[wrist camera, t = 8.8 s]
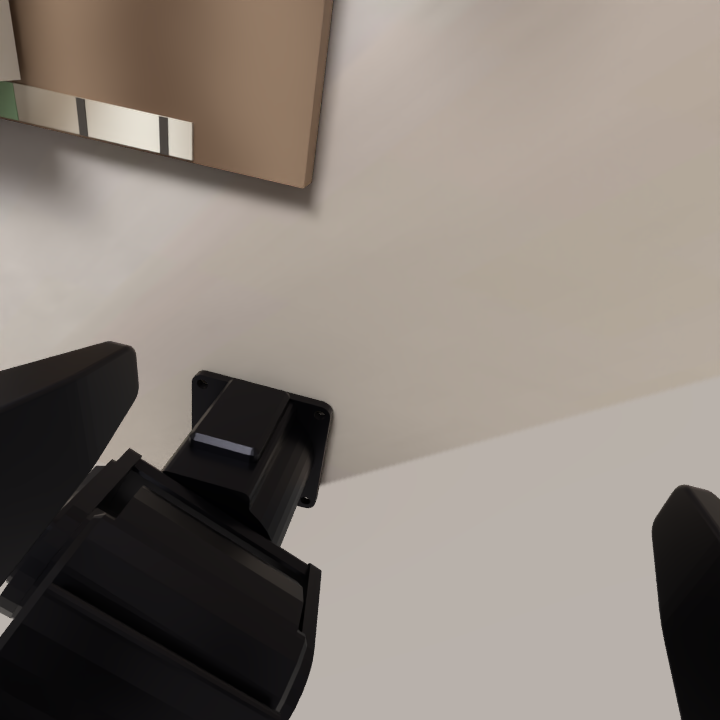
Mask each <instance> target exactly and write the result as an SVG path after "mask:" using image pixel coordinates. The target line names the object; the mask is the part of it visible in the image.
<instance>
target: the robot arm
mask: <svg viewBox="0 0 720 720" xmlns="http://www.w3.org/2000/svg"><path fill="white" fill-rule="evenodd" d="M202 380H204V381H206V383H207V384H205V383H203V382H202ZM138 389H139V382H138V370H137V358H136V352H135V350H134V349H133V348H132V347H131V346H129V345H125V344H121V343H117V342H112V341H107V342H103V343H100V344H96V345H92V346H89V347H85V348H82V349H78V350H74V351H71V352H67V353H64V354H60V355H56V356H53V357H49V358H46V359H42V360H38V361H35V362H31V363H28V364H24V365H20V366H17V367H13V368H10V369H6V370H2V371H0V587H1V586H2V584H3V583H4V582H5V580H6V579H7V580H6V582H7V583H8V585H7V586H6V588H5V589H4V591H3V592H2V594H1V595H0V613H2V614H4V615H6V616H8V617H9V618H13V621H12V622H11V623H10V625H9V626H8V627H7V629H6V630H5V632H4V633H3V634H2V635H1V637H0V720H289V718H290V717H291V715H292V713H293V711H294V710H295V708H296V705H297V703H298V701H299V699H300V697H301V695H302V693H303V690H304V687H305V685H306V682H307V679H308V676H309V673H310V669H311V666H312V662H313V655H314V648H315V637H316V626H317V615H318V604H319V594H320V581H321V570H320V569H318V568H317V567H315V566H314V565H312V564H311V563H309V564H306V563H304V562H303V561H301V560H299V559H298V558H297V557H295V556H293V555H292V554H290V553H289V552H287V551H286V550H284V549H282V548H281V547H280V546H281V543H282V541H283V538H284V536H285V534H286V531H287V529H288V526H289V524H290V521H291V519H292V516H293V514H294V511H295V509H296V506H300V507H305V508H311V507H313V506H314V504H315V502H316V499H317V495H318V490H319V485H320V479H321V474H322V468H323V463H324V457H325V452H326V446H327V441H328V435H329V430H330V424H331V419H332V408H331V406H330V405H329V404H327V403H325V402H323V401H319V400H315V399H312V398H308V397H304V396H300V395H297V394H293V393H289V392H285V391H282V390H278V389H274V388H270V387H267V386H263V385H259V384H255V383H252V382H248V381H244V380H240V379H236V378H232V377H228V376H225V375H221V374H217V373H213V372H209V371H204V370H202V371H199V372H198V373H197V374H196V375H195V376H194V378H193V379H192V431H191V432H190V433H189V435H188V436H187V437H186V438H185V440H184V441H183V442H182V444H181V445H180V446H179V448H178V449H177V450H176V452H175V453H174V454H173V456H172V457H171V458H170V460H169V461H168V462H167V464H166V465H165V466H164V468H163V469H162V470H161V471H160V470H158V469H157V468H155V467H154V466H152V465H151V464H149V463H147V462H146V461H144V460H143V459H141V457H142V456H141V455H140V454H138V453H137V452H135V451H134V450H132V449H130V448H129V449H128V450H127V451H126V452H125V453H124V454H123V455H122V456H121V457H120V458H119V459H118V460H117V461H115V460H113V459H112V460H111V461H110V462H109V463H108V464H107V465H106V466H96V467H95V468H94V469H93V470H92V468H93V467H94V465H95V464H96V462H97V461H98V459H99V458H100V456H101V454H102V453H103V451H104V450H105V448H106V446H107V445H108V443H109V441H110V440H111V438H112V437H113V435H114V433H115V432H116V430H117V428H118V427H119V425H120V424H121V422H122V420H123V419H124V417H125V416H126V414H127V412H128V411H129V409H130V407H131V406H132V404H133V403H134V401H135V399H136V397H137V394H138ZM317 411H321V412H323V413H324V414H325V415H320V414H318V412H317ZM91 470H92V471H91ZM90 471H91V472H90ZM89 472H90V473H89ZM305 497H307V498H308V499H307V498H305ZM652 542H653V552H654V562H655V572H656V582H657V591H658V602H659V611H660V619H661V626H662V631H663V637H664V641H665V646H666V651H667V656H668V660H669V665H670V670H671V674H672V679H673V683H674V688H675V693H676V697H677V702H678V707H679V711H680V716H681V720H720V499H719V498H718V497H717V496H716V495H714V494H713V493H712V492H710V491H708V490H705V489H701V488H696V487H693V486H689V485H680V486H678V487H677V488H676V489H675V490H674V491H673V492H672V494H671V495H670V497H669V498H668V500H667V501H666V503H665V504H664V506H663V507H662V509H661V510H660V512H659V513H658V515H657V516H656V518H655V520H654V522H653V526H652Z"/></svg>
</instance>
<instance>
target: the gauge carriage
mask: <svg viewBox="0 0 720 720" xmlns="http://www.w3.org/2000/svg"><path fill="white" fill-rule="evenodd" d="M11 80H21V78H20V71H19V65H18V59H17V52H16V46H15V39H14V33H13V26H12V20H11V14H10V7H9V1H8V0H0V81H11Z"/></svg>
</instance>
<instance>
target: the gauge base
mask: <svg viewBox="0 0 720 720" xmlns="http://www.w3.org/2000/svg"><path fill="white" fill-rule="evenodd" d="M8 1H9V7H10V14H11V20H12V26H13V33H14V39H15V46H16V52H17V59H18V65H19V71H20V78H21V80H11V81H0V118H2V119H6V120H10V121H15V122H19V123H23V124H28V125H32V126H36V127H41V128H45V129H49V130H53V131H58V132H62V133H66V134H71V135H75V136H79V137H84V138H88V139H92V140H97V141H101V142H105V143H110V144H114V145H118V146H122V147H127V148H131V149H135V150H140V151H144V152H148V153H153V154H157V155H161V156H166V157H170V158H174V159H178V160H183V161H187V162H191V163H196V164H200V165H204V166H209V167H213V168H217V169H222V170H226V171H230V172H234V173H239V174H243V175H247V176H252V177H256V178H260V179H265V180H269V181H273V182H278V183H282V184H286V185H290V186H295V187H299V188H303V189H304V188H305V187H306V186H307V185H309V184H310V183H311V182H312V175H313V167H314V159H315V150H316V142H317V134H318V125H319V117H320V108H321V100H322V92H323V83H324V75H325V66H326V58H327V50H328V41H329V33H330V24H331V16H332V8H333V0H8Z"/></svg>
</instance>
